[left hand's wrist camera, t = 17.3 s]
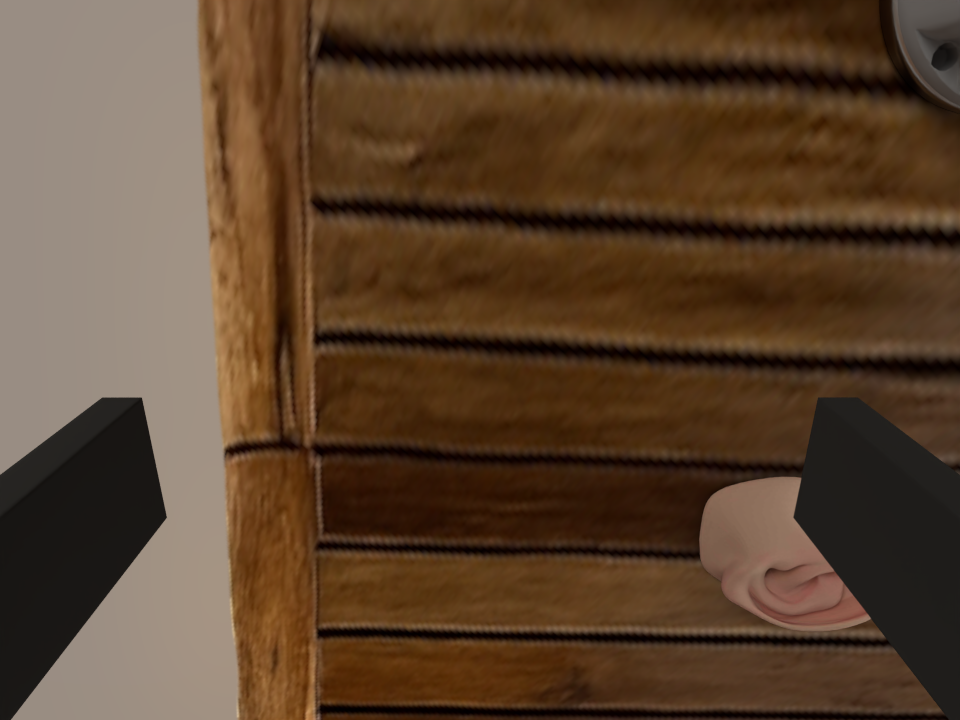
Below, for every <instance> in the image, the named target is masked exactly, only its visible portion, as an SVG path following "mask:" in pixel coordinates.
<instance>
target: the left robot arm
mask: <svg viewBox="0 0 960 720" xmlns="http://www.w3.org/2000/svg"><path fill="white" fill-rule="evenodd" d="M879 1H880V19H881V27H882V31H883V36H884V40H885V43H886V46H887V49H888V52H889V54H890V56H891V59H892V61H893V63H894V65H895V66H896V68H897V70H898V71H899V73H900V75H901V76H902V77H903V78H904V80H905V81H906V82H907V83H908V85H910V86H911V87H912V88H913V89H914V90H915V91H916V92H917V93H918V94H919V95H921V96H922V97H923V98H925V99H926V100H928V101H929V102H931V103H933V104H935V105H936V106H939V107H941V108H943V109H946V110H949V111H952V112H956V113H960V0H879ZM166 518H167V516H166V511H165V507H164V502H163V497H162V492H161V487H160V483H159V478H158V473H157V468H156V463H155V459H154V454H153V449H152V444H151V440H150V435H149V430H148V425H147V420H146V415H145V411H144V406H143V401H142V398H101V399H100V400H99V401H97V402H96V403H95V404H93V405H92V406H91V407H89V408H88V409H87V410H85V411H84V412H83V413H81V414H80V415H79V416H77V417H76V418H75V419H74V420H72V421H71V422H70V423H68V424H67V425H66V426H64V427H63V428H62V429H60V430H59V431H58V432H56V433H55V434H54V435H52V436H51V437H50V438H48V439H47V440H46V441H44V442H43V443H42V444H41V445H39V446H38V447H37V448H35V449H34V450H33V451H31V452H30V453H29V454H27V455H26V456H25V457H23V458H22V459H21V460H19V461H18V462H17V463H15V464H14V465H13V466H11V467H10V468H9V469H7V470H6V471H5V472H4V473H2V474H1V475H0V720H11V719H12V718H13V716H14V715H15V714H16V712H17V711H18V710H19V708H20V707H21V706H22V705H23V703H24V702H25V701H26V699H27V698H28V697H29V695H30V694H31V693H32V692H33V690H34V689H35V688H36V686H37V685H38V684H39V683H40V681H41V680H42V679H43V677H44V676H45V675H46V674H47V672H48V671H49V670H50V668H51V667H52V666H53V664H54V663H55V662H56V660H57V659H58V658H59V657H60V655H61V654H62V653H63V651H64V650H65V649H66V648H67V646H68V645H69V644H70V642H71V641H72V640H73V639H74V637H75V636H76V635H77V633H78V632H79V631H80V629H81V628H82V627H83V625H84V624H85V623H86V622H87V620H88V619H89V618H90V616H91V615H92V614H93V613H94V611H95V610H96V609H97V607H98V606H99V605H100V603H101V602H102V601H103V600H104V598H105V597H106V596H107V594H108V593H109V592H110V590H111V589H112V588H113V587H114V585H115V584H116V583H117V581H118V580H119V579H120V578H121V576H122V575H123V574H124V572H125V571H126V570H127V569H128V567H129V566H130V565H131V563H132V562H133V561H134V559H135V558H136V557H137V556H138V554H139V553H140V552H141V550H142V549H143V548H144V546H145V545H146V544H147V542H148V541H149V540H150V539H151V537H152V536H153V535H154V533H155V532H156V531H157V530H158V528H159V527H160V526H161V524H162V523H163V522H164V521H165V519H166ZM793 518H794V519H795V521H796V522H797V523H798V524H799V526H800V527H801V528H802V530H803V531H804V532H805V534H806V535H807V536H808V537H809V539H810V540H811V541H812V543H813V544H814V545H815V546H816V548H817V549H818V550H819V552H820V553H821V554H822V556H823V557H824V558H825V559H826V561H827V562H828V563H829V565H830V566H831V567H832V569H833V570H834V571H835V572H836V574H837V575H838V576H839V578H840V579H841V580H842V581H843V583H844V584H845V585H846V587H847V588H848V589H849V591H850V592H851V593H852V594H853V596H854V597H855V598H856V600H857V601H858V602H859V604H860V605H861V606H862V607H863V609H864V610H865V611H866V613H867V614H868V615H869V616H870V618H871V619H872V620H873V622H874V623H875V624H876V626H877V627H878V628H879V629H880V631H881V632H882V633H883V635H884V636H885V637H886V639H887V640H888V641H889V642H890V644H891V645H892V646H893V648H894V649H895V650H896V651H897V653H898V654H899V655H900V657H901V658H902V659H903V661H904V662H905V663H906V664H907V666H908V667H909V668H910V670H911V671H912V672H913V674H914V675H915V676H916V677H917V679H918V680H919V681H920V683H921V684H922V685H923V686H924V688H925V689H926V690H927V692H928V693H929V694H930V696H931V697H932V698H933V699H934V701H935V702H936V703H937V705H938V706H939V707H940V709H941V710H942V711H943V712H944V714H945V715H946V716H947V718H948V719H949V720H960V475H959V474H958V473H956V472H955V471H954V470H953V469H951V468H950V467H949V466H947V465H946V464H945V463H943V462H942V461H941V460H939V459H938V458H937V457H935V456H934V455H933V454H931V453H930V452H929V451H927V450H926V449H925V448H923V447H922V446H921V445H920V444H918V443H917V442H916V441H914V440H913V439H912V438H910V437H909V436H908V435H906V434H905V433H904V432H902V431H901V430H900V429H898V428H897V427H896V426H894V425H893V424H892V423H890V422H889V421H888V420H887V419H885V418H884V417H883V416H881V415H880V414H879V413H877V412H876V411H875V410H873V409H872V408H871V407H869V406H868V405H867V404H865V403H864V402H863V401H861V400H860V399H859V398H818V401H817V406H816V411H815V415H814V420H813V425H812V430H811V435H810V439H809V444H808V449H807V454H806V459H805V463H804V468H803V473H802V478H801V483H800V487H799V492H798V497H797V502H796V507H795V511H794V516H793Z"/></svg>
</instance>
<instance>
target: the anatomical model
mask: <svg viewBox="0 0 960 720" xmlns="http://www.w3.org/2000/svg"><path fill="white" fill-rule="evenodd" d="M800 483H801V478H798V477H773V478H764V479H758V480H752V481H747V482H742V483H739V484H735V485H731V486H728V487H725V488H723V489H721V490H719V491H717V492H716V493H715V494H713V495H712V496H711V497H710V498H709V500H708V501H707V503H706V506H705V509H704V512H703V516H702V523H701V530H700V539H699V543H700V558H701V562H702V565H703V567H704V568H705V569H706V570H707V571H708V572H709V573H710V574H711V575H712V576H714V577H715V578H717V579H718V580H720V581H721V588H722V591H723V593H724V595H725V597H726V598H727V599H729V600H730V601H731V602H733V603H735V604H737V605H739V606H740V607H742V608H744V609H746V610H748V611H749V612H751V613H753V614H755V615H756V616H758V617H760V618H762V619H764V620H766V621H768V622H770V623H772V624H774V625H777V626H780V627H783V628H787V629H791V630H797V631H832V630H838V629H843V628H847V627H851V626H854V625H858V624H860V623H863V622H865V621H868V620H870V619H871V618H870V616H869V615H868V614H867V613H866V611H865V610H864V609H863V607H862V606H861V605H860V604H859V602H858V601H857V600H856V598H855V597H854V596H853V594H852V593H851V592H850V591H849V589H848V588H847V587H846V585H845V584H844V583H843V581H842V580H841V579H840V578H839V576H838V575H837V574H836V572H835V571H834V570H833V569H832V567H831V566H830V565H829V563H828V562H827V561H826V559H825V558H824V557H823V556H822V554H821V553H820V552H819V550H818V549H817V548H816V546H815V545H814V544H813V543H812V541H811V540H810V539H809V537H808V536H807V535H806V534H805V532H804V531H803V530H802V528H801V527H800V526H799V524H798V523H797V522H796V521H795V519H794V518H793V516H794V511H795V507H796V502H797V497H798V492H799V487H800Z"/></svg>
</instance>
